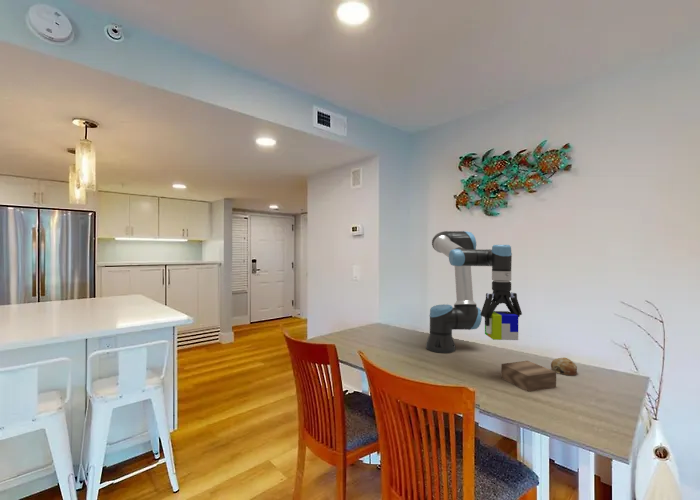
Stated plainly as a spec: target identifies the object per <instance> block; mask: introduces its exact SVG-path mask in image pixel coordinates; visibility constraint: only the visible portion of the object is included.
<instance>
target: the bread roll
mask: <svg viewBox="0 0 700 500" xmlns="http://www.w3.org/2000/svg"><path fill="white" fill-rule="evenodd" d="M550 368H551V369H550V370H552V371H555V372H556V374H560V375H564V376H569V377H570V376H571V377H572V376H574V377H575V376H576V375H577V372H578V366H577V364H576V363H575V362H574V361H572V360H571V359H570V358H568V357H558V358H554V359H553V360H552V361H551V363H550Z"/></svg>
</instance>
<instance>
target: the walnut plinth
mask: <svg viewBox="0 0 700 500" xmlns="http://www.w3.org/2000/svg"><path fill="white" fill-rule="evenodd" d="M500 366H501V367H500V368H501V369H500V372H501V373H500V376H501V377H500V378H501V379H502V380H504V381H506V382H508V383H510V384H512V385H514V386H516V387H518V388H520V389H521V390H524V391H526V392H535V391H540V390H548V389H554V388H556V387H557V373H556V372H555V371H553V370H552V369H549V368H547V367H545V366H542V365H540V364H537V363H534V362H533V361H532V362H531V361H529V360H524V361H514V362H505V363H501V364H500Z"/></svg>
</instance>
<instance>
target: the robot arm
mask: <svg viewBox="0 0 700 500" xmlns="http://www.w3.org/2000/svg"><path fill="white" fill-rule="evenodd" d="M431 245H432V249H434V250H435V251H436V252H437V253H441V254H443V255H444V256H446V257H447V258H448V262H449V264H450V265H451V266H454V276H455V277H454V279H455V280H454V281H455V293H456V302H454V304H453V306H452V304H445V303H444V304H435V305H433V306H431V307H430V309H429V315H428V316H429V335H428V337H427V340H426V343H425V348H426V349H427V350H428V351H430V352H434V353H441V354H447V353H453V352H455V351H456V344H455V340H454V338H453V331H455V330H460V331H461V330H464V331H465V330H468V331H470V330H477V329H478V328H479V327H480V326H481V323H482V317H483V318H484V326H485V325H486V333H488V334H492V318H490V317H491V315H492V314H493V312H494V311H496V309H497V307H498V306H499V305H501V304H504V305H506V306H505V307H506V308H507V309H508V311H509V312H511V313H513V314H516V315H518V318H520V316H522V315H523V313H522V310H521V307H520V304H519V301H518V295H517V293H516V292H511V291H512V282H511V281H512V257H513V253H512V246H511V245H510V244H493V245H492V246H491V247H492V248H491V249H477V240H476V237H475V235H474V233H472V232H471V231H466V230H461V231H459V230H457V231H456V230H455V231H453V230H452V231H448V230H446V231H445V230H444V231H440V232H438V233H436V234H435V235H434V236H433V238H432V239H431ZM472 267H491V268H492V269H491V280H492V282H491V290H492V293H488V292H487V293H486V294H485V300H484V303H483V306H482V308H480V307H478V306H477V303H476V302H475V301H474V292H473V281H472V280H473V279H472Z"/></svg>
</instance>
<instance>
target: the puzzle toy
mask: <svg viewBox="0 0 700 500" xmlns="http://www.w3.org/2000/svg"><path fill="white" fill-rule="evenodd" d="M490 318H492V334H488V333H486V325H485V324H484V335H486V336H487V337H489V338H490V339H491V340H493V341H494V340H495V341H496V340H497V341H519V317H518V315H516V314H513V313H511V312H510V311H509V310H508V311H507V310H506V311H505V310H499V311H498V310H494V312H493V314H492V315H491V317H490Z"/></svg>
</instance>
